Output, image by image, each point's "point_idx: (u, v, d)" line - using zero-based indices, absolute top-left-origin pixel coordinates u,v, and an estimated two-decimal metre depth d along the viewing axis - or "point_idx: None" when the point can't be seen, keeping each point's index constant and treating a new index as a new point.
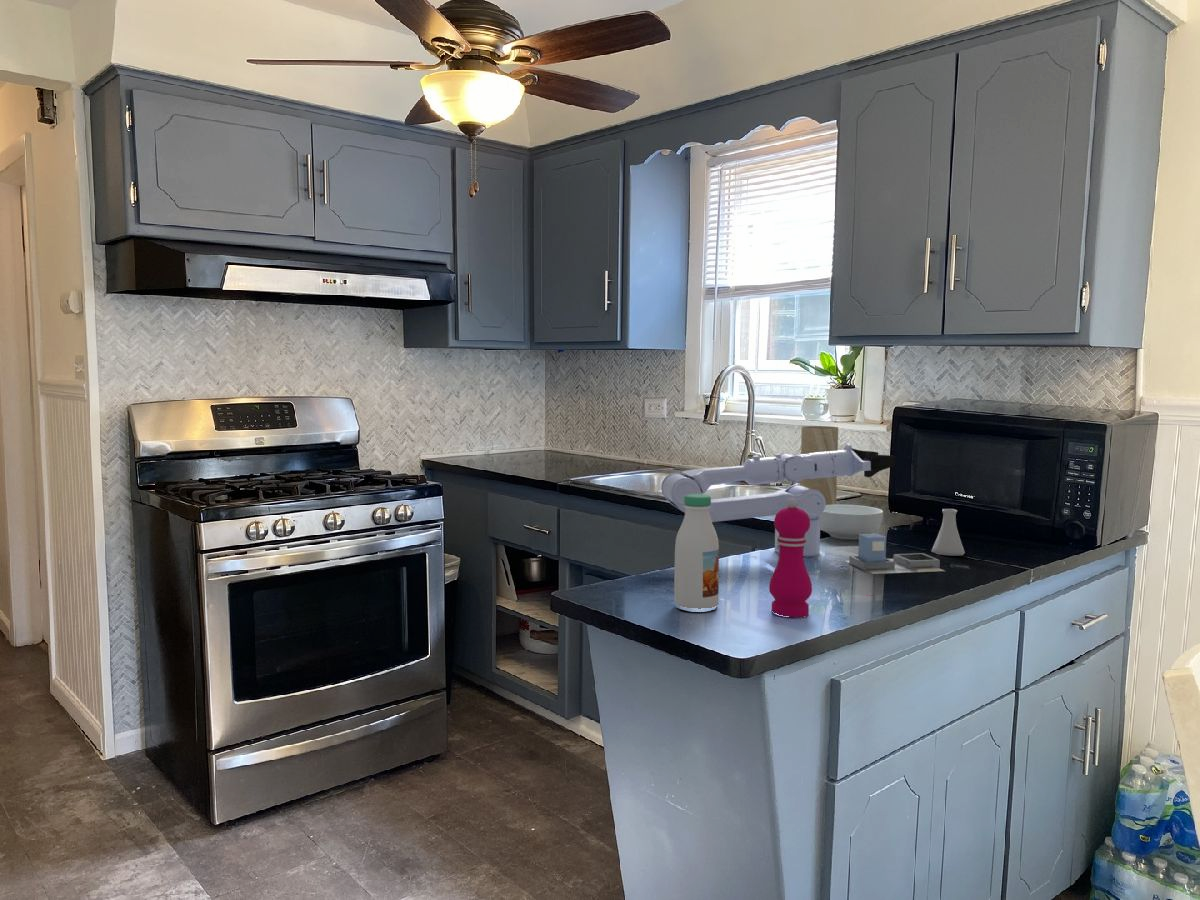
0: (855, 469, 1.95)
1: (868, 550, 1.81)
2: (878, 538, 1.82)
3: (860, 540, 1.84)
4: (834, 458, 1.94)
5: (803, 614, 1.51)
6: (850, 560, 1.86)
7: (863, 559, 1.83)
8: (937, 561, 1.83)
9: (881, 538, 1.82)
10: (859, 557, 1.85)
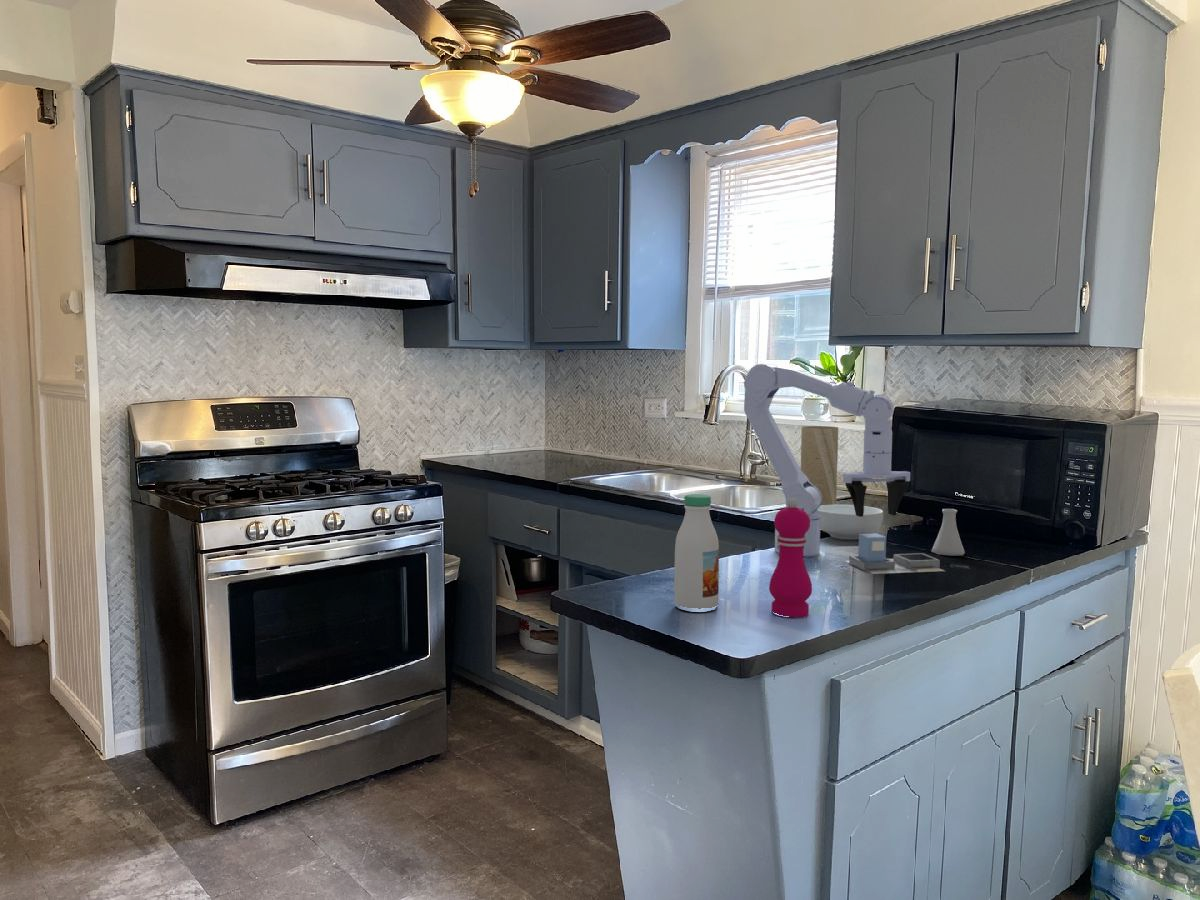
0: None
1: (868, 550, 1.81)
2: (878, 538, 1.82)
3: (860, 540, 1.84)
4: (870, 454, 1.87)
5: (803, 614, 1.51)
6: (850, 560, 1.86)
7: (863, 559, 1.83)
8: (937, 561, 1.83)
9: (881, 538, 1.82)
10: (859, 557, 1.85)
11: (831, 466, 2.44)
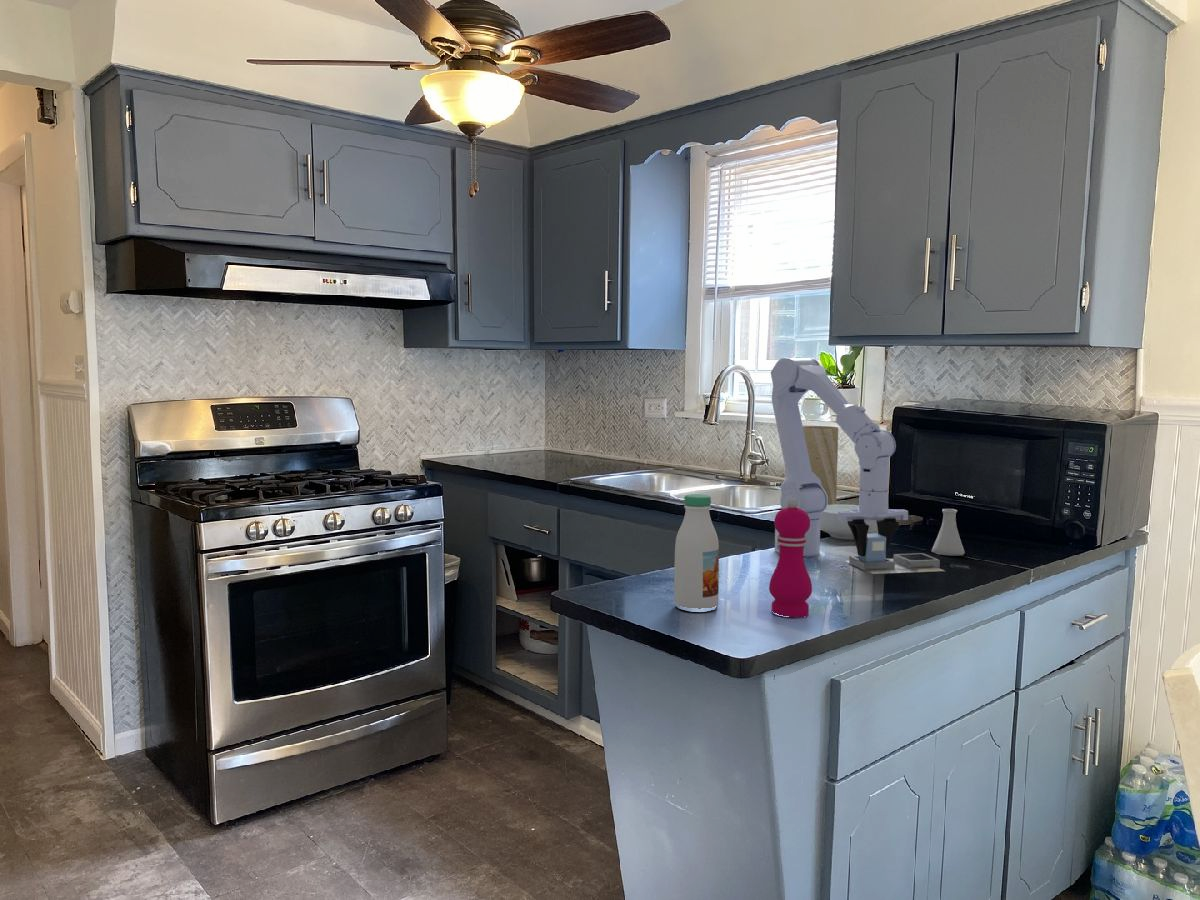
0: None
1: (868, 550, 1.81)
2: (878, 538, 1.82)
3: None
4: (866, 492, 1.81)
5: (803, 614, 1.51)
6: (850, 560, 1.86)
7: (863, 559, 1.83)
8: (937, 561, 1.83)
9: (881, 538, 1.82)
10: (859, 557, 1.85)
11: (831, 466, 2.44)
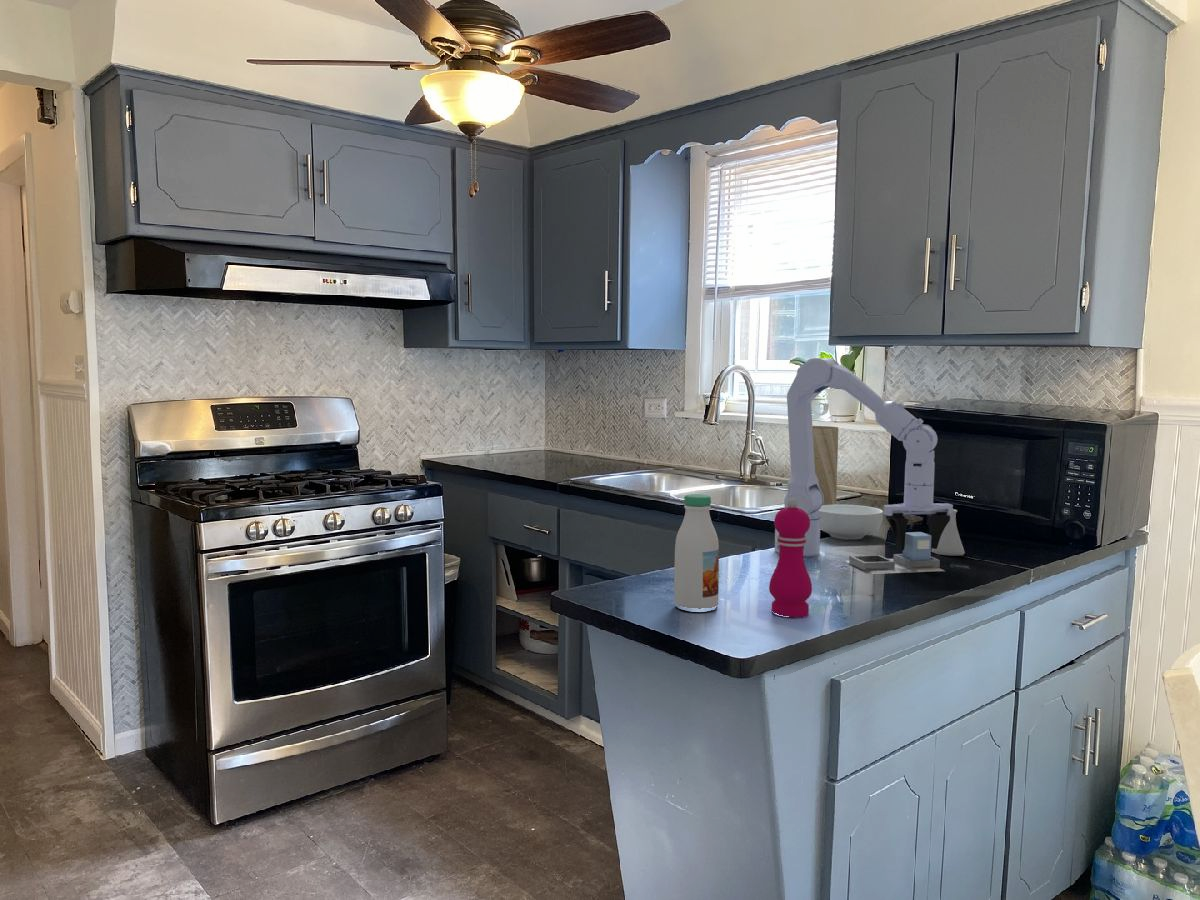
0: None
1: (913, 548, 1.83)
2: (923, 537, 1.83)
3: (905, 539, 1.86)
4: (912, 486, 1.82)
5: (803, 614, 1.51)
6: (850, 560, 1.86)
7: (908, 557, 1.85)
8: (937, 561, 1.83)
9: (926, 537, 1.83)
10: (904, 555, 1.87)
11: (831, 466, 2.44)
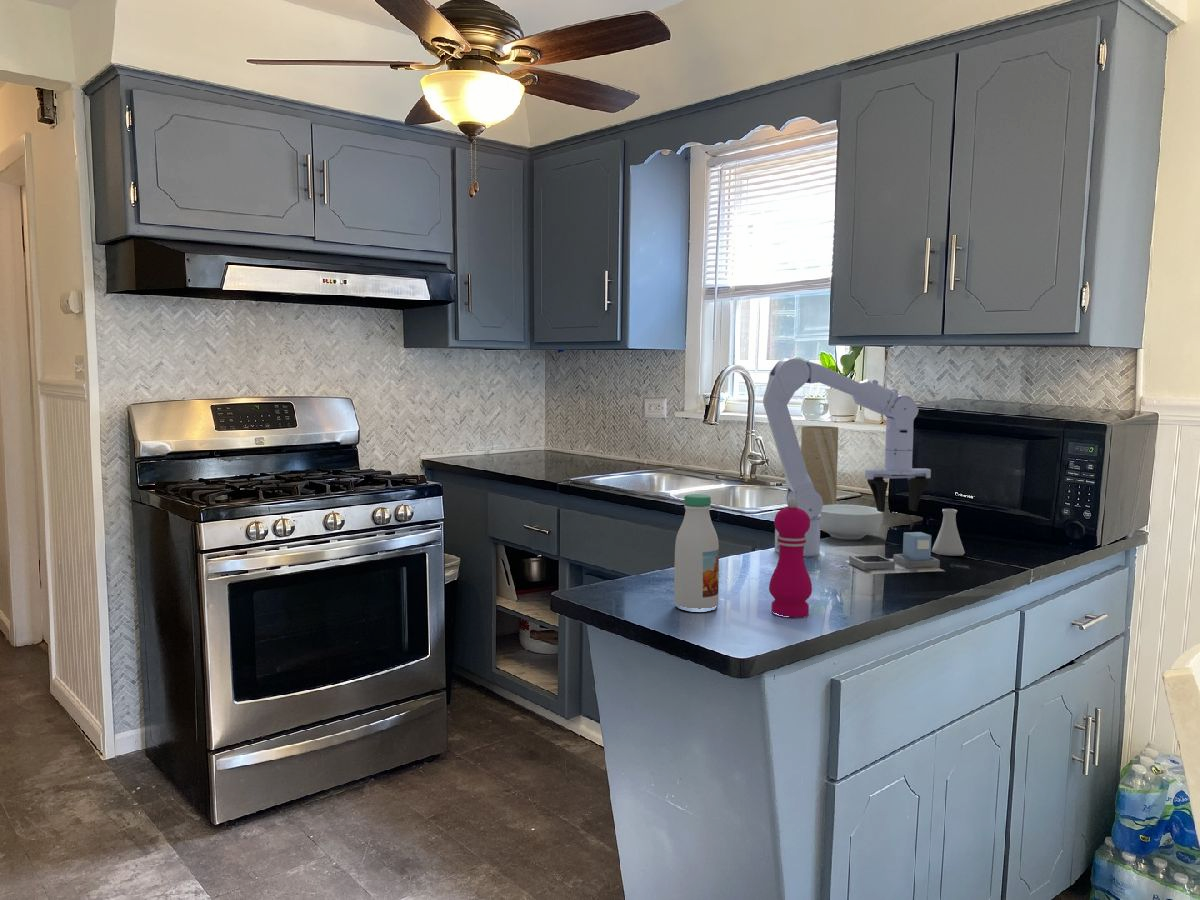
0: None
1: (913, 548, 1.83)
2: (923, 537, 1.83)
3: (905, 539, 1.86)
4: (892, 451, 1.93)
5: (803, 614, 1.51)
6: (850, 560, 1.86)
7: (908, 557, 1.85)
8: (937, 561, 1.83)
9: (926, 537, 1.83)
10: (904, 555, 1.87)
11: (831, 466, 2.44)
